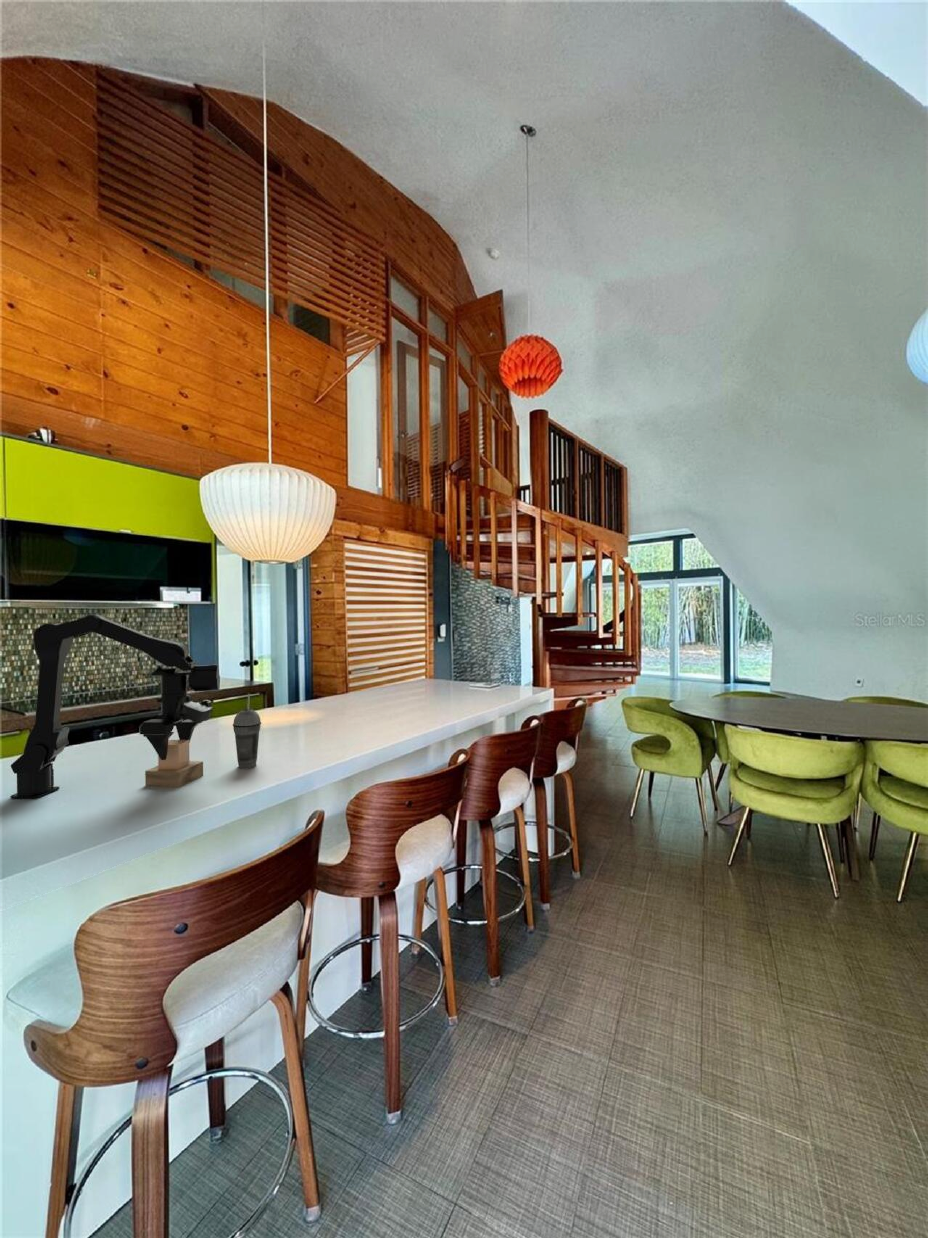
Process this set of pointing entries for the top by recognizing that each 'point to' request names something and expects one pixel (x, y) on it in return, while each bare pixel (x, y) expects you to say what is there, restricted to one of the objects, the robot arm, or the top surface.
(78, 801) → the top surface
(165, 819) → the top surface
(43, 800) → the top surface
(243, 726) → the beverage cup
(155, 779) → the walnut box
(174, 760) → the terracotta cube
